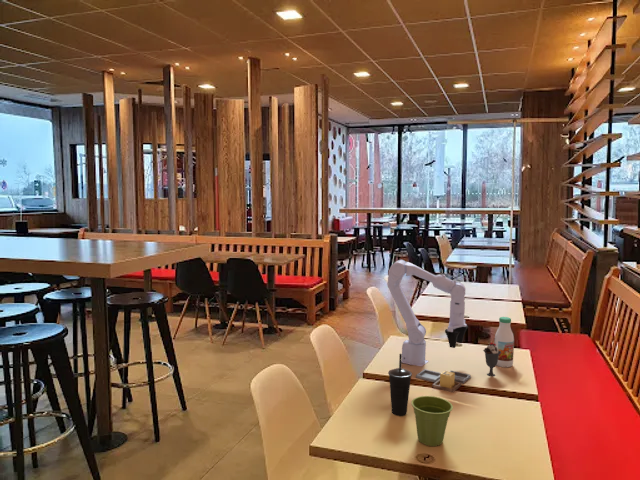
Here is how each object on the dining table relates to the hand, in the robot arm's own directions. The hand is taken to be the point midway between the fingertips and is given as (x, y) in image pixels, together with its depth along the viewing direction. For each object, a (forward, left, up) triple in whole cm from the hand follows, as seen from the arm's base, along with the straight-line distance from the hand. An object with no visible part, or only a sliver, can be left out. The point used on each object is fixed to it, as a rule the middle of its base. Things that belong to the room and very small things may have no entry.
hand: (456, 344), depth 210 cm
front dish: (+6, -23, -9) cm, 25 cm away
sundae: (+15, -1, -10) cm, 18 cm away
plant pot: (+17, -63, -10) cm, 66 cm away
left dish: (-3, -18, -9) cm, 20 cm away
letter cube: (+6, -23, -9) cm, 25 cm away
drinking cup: (+1, -52, -10) cm, 53 cm away
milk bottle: (+15, +15, -10) cm, 23 cm away
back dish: (+6, -13, -9) cm, 17 cm away
